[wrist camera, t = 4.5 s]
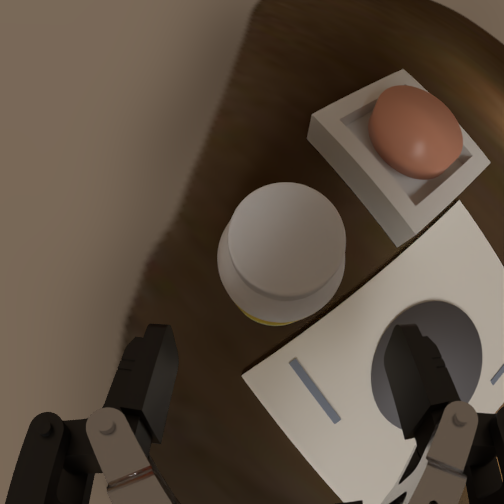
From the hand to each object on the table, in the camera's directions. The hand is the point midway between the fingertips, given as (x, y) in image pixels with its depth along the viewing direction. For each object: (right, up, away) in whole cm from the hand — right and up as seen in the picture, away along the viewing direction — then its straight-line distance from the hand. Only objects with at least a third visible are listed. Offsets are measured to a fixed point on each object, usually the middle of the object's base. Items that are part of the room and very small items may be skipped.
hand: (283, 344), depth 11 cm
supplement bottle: (0, +1, +9) cm, 9 cm away
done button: (+10, +11, +8) cm, 17 cm away
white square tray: (+10, +10, +11) cm, 18 cm away
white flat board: (+11, -4, +7) cm, 14 cm away
